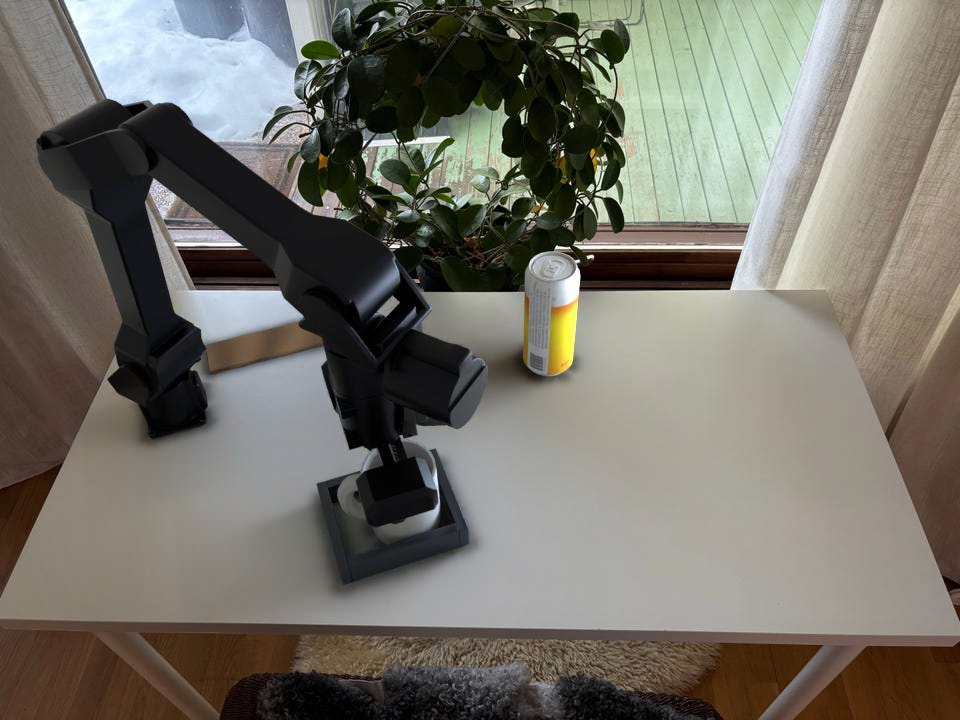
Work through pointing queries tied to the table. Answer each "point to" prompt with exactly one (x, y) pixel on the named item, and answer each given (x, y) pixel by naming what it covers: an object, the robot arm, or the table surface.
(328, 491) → the rectangular frame
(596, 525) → the table surface
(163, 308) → the robot arm
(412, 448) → the cup
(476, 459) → the table surface
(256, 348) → the cork mat
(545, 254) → the beer can
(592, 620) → the table surface
